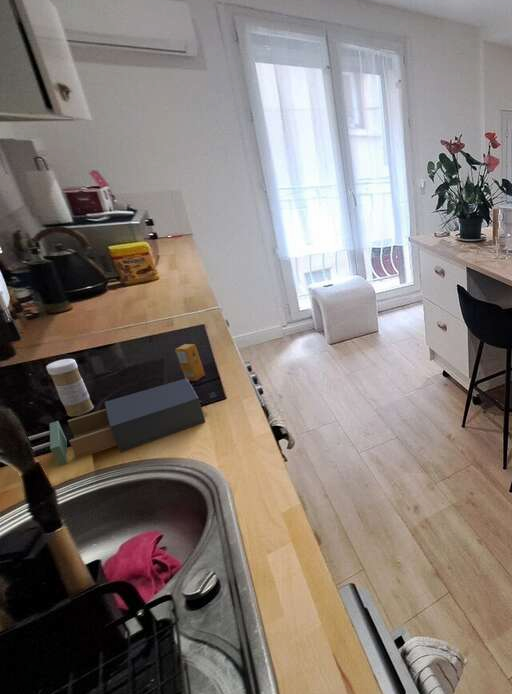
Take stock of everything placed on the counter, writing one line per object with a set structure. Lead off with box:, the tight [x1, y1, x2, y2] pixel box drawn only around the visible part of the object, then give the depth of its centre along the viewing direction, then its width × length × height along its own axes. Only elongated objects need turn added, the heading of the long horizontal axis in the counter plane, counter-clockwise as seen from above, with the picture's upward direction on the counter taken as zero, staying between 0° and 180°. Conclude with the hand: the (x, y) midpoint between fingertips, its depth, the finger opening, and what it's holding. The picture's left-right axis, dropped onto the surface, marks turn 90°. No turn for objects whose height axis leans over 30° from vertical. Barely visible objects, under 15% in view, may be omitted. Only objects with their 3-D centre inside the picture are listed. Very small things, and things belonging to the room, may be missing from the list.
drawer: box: [28, 408, 118, 467], centre depth 86 cm, size 19×11×5 cm, turn 138°
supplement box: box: [174, 343, 206, 382], centre depth 112 cm, size 3×3×10 cm
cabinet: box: [104, 377, 206, 453], centre depth 94 cm, size 15×13×7 cm
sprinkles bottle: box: [45, 358, 95, 418], centre depth 96 cm, size 5×5×14 cm
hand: (8, 341), depth 78 cm, fingers closed
